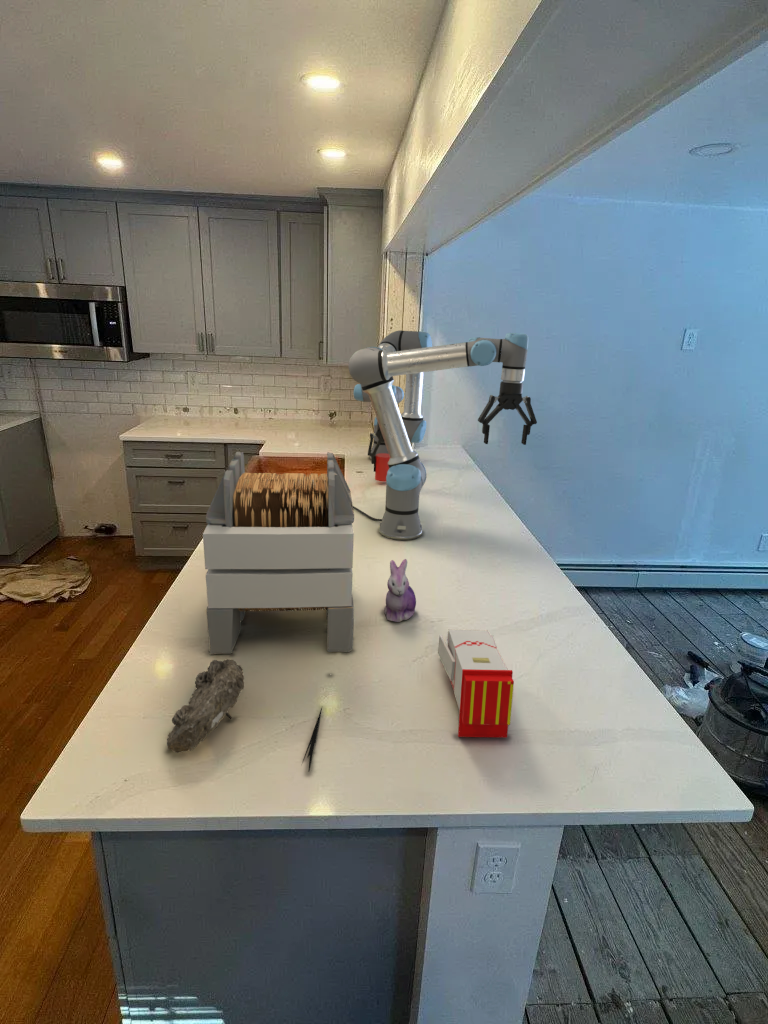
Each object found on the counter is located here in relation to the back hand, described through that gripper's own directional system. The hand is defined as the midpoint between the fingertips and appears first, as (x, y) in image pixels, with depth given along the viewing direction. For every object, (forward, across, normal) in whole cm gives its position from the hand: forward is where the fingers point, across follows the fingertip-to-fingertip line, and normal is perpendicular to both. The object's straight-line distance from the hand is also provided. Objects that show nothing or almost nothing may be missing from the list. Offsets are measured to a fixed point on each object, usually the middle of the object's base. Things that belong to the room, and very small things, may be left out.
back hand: (383, 471), depth 255 cm
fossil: (+5, -31, -158) cm, 161 cm away
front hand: (-27, +41, -52) cm, 72 cm away
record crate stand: (+5, -24, -120) cm, 123 cm away
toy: (+5, +19, -147) cm, 149 cm away
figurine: (+5, +5, -117) cm, 117 cm away
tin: (+4, 0, 0) cm, 4 cm away
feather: (+5, -11, -158) cm, 158 cm away
